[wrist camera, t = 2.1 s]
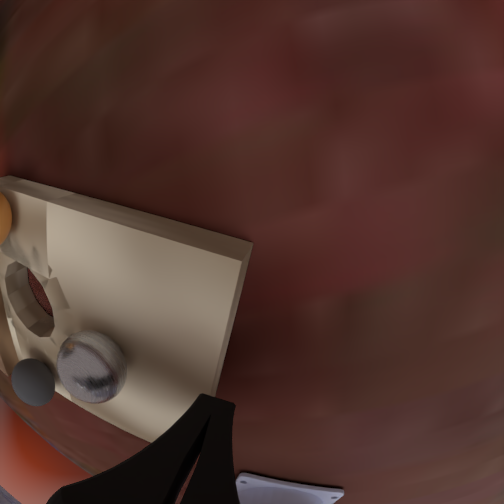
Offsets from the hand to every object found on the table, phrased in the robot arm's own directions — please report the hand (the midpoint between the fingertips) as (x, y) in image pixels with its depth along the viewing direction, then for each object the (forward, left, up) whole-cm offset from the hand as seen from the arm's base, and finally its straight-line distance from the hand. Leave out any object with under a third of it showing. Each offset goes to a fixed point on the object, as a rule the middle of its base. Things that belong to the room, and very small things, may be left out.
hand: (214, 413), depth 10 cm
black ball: (-5, +11, 0) cm, 12 cm away
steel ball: (0, +5, 0) cm, 6 cm away
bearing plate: (-1, +8, -3) cm, 9 cm away
